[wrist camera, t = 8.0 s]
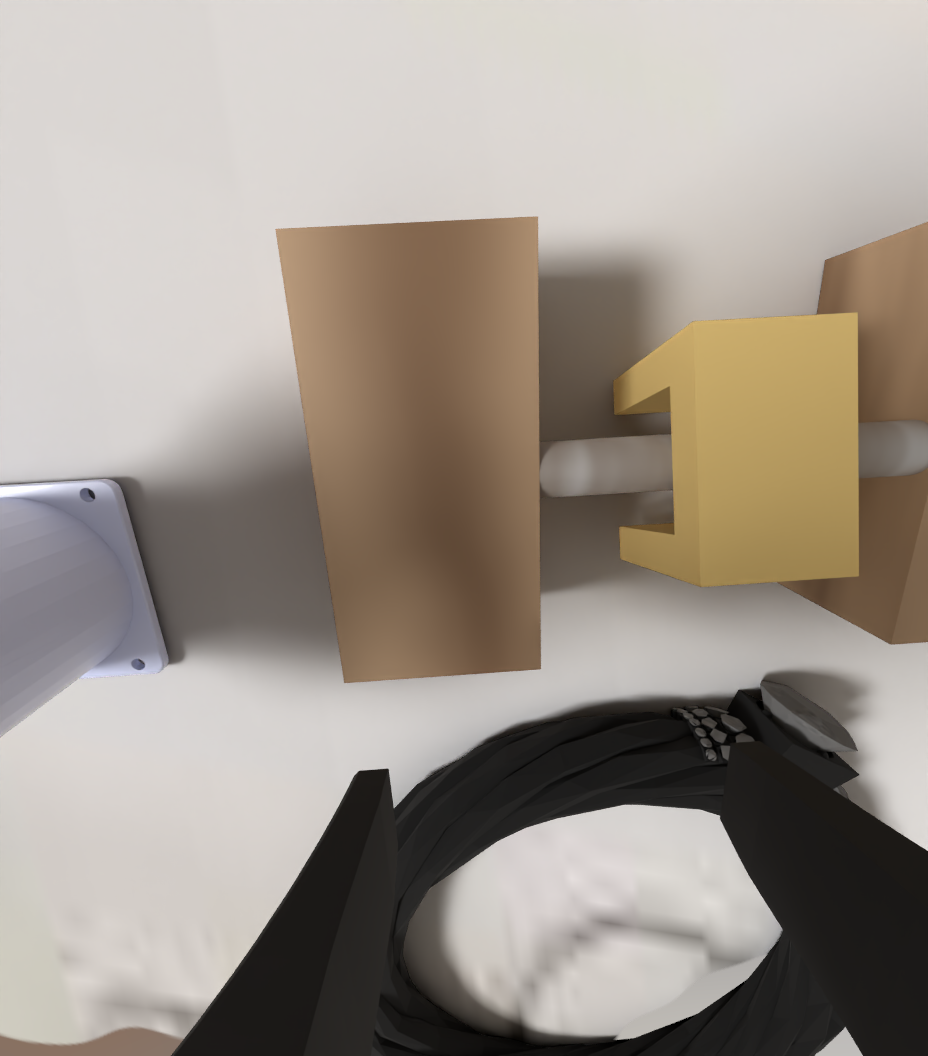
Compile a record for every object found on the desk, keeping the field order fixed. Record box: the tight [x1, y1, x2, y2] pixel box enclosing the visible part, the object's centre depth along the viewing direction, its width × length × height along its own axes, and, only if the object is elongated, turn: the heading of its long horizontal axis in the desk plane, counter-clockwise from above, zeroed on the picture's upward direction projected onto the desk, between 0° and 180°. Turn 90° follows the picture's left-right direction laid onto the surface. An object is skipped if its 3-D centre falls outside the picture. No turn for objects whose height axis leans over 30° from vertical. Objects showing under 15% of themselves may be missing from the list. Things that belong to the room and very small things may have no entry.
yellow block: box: [613, 312, 859, 587], centre depth 13 cm, size 4×6×5 cm, turn 3°
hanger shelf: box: [276, 217, 928, 683], centre depth 14 cm, size 23×12×5 cm, turn 93°
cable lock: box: [371, 681, 859, 1056], centre depth 22 cm, size 28×4×30 cm
